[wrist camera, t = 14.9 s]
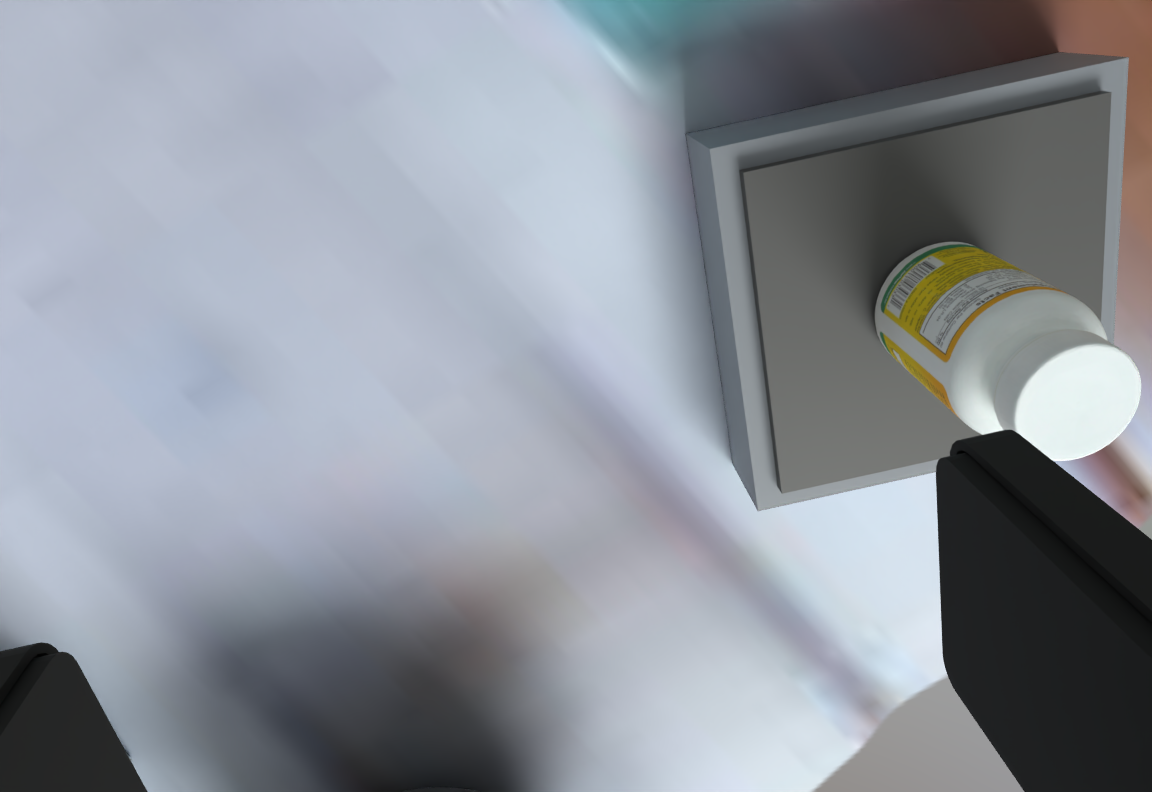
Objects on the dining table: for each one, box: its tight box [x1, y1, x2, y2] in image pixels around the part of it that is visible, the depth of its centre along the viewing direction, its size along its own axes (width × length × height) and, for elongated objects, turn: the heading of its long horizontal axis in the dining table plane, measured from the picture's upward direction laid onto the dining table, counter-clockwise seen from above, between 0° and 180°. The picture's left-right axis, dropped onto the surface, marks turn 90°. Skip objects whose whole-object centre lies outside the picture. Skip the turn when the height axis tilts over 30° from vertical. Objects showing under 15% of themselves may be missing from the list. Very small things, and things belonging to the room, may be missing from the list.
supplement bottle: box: [875, 242, 1141, 461], centre depth 32 cm, size 5×5×10 cm
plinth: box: [686, 52, 1129, 511], centre depth 38 cm, size 16×16×5 cm
